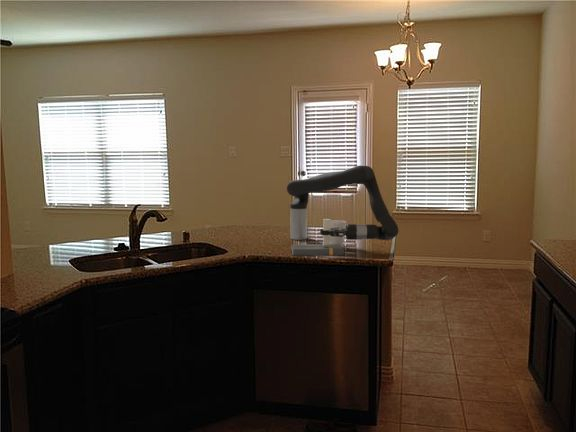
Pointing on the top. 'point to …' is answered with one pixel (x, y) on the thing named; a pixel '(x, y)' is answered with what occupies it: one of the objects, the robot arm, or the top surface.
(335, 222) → the foam cup
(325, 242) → the fader tab
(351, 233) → the robot arm
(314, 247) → the console
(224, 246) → the top surface
